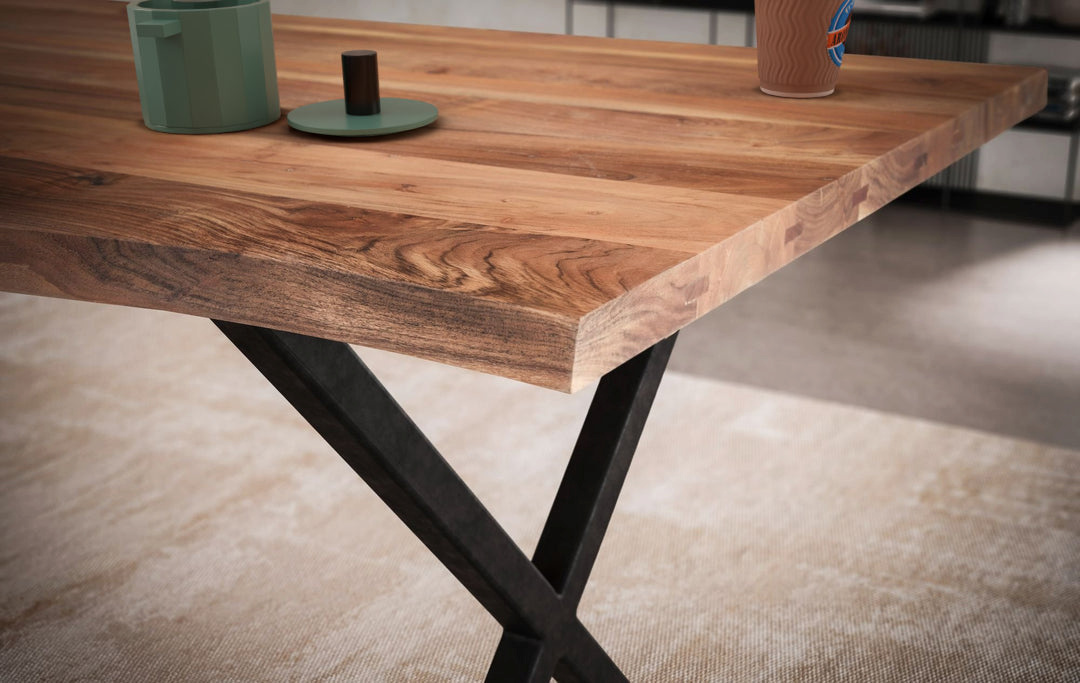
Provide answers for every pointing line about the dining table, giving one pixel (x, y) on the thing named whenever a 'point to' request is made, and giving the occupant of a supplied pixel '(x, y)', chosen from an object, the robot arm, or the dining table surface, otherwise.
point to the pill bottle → (191, 0)
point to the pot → (205, 65)
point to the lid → (362, 105)
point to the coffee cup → (801, 45)
